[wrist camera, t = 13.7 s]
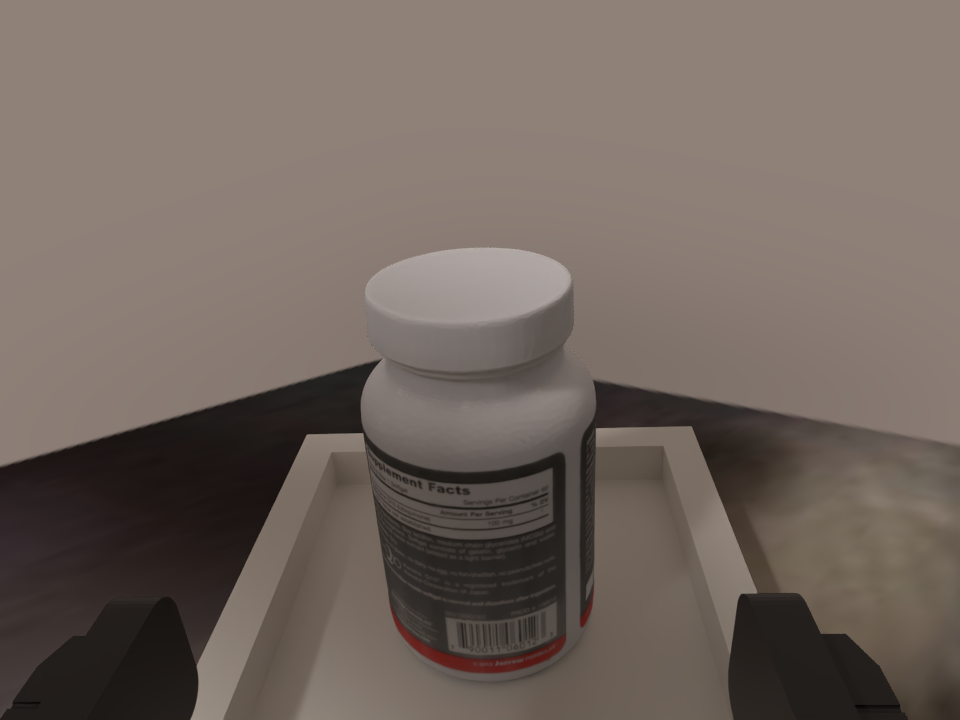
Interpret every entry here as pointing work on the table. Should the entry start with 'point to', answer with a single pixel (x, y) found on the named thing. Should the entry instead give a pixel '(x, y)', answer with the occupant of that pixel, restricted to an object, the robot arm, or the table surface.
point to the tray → (466, 703)
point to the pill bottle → (481, 459)
